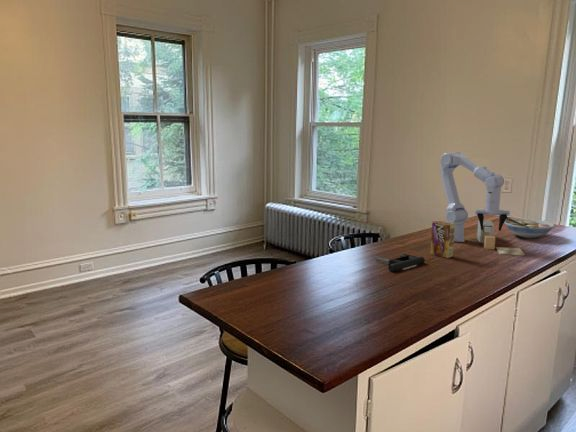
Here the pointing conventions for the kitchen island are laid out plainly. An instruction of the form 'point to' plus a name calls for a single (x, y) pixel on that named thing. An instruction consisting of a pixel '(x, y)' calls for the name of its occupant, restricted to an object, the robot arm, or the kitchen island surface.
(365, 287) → the kitchen island surface
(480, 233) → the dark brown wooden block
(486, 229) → the white long bar
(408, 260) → the door handle
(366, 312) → the kitchen island surface
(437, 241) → the candy box
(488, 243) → the tan rectangular block
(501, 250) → the pad
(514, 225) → the ramen bowl
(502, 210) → the robot arm
